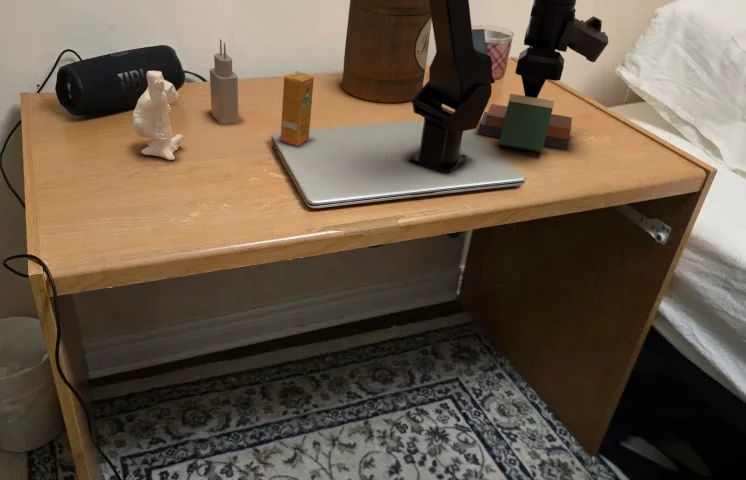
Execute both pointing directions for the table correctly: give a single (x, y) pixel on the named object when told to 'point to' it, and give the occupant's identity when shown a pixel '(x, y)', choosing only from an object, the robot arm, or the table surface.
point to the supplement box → (296, 108)
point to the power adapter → (224, 89)
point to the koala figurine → (157, 116)
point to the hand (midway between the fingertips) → (529, 104)
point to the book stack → (555, 134)
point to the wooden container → (386, 49)
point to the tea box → (526, 123)
